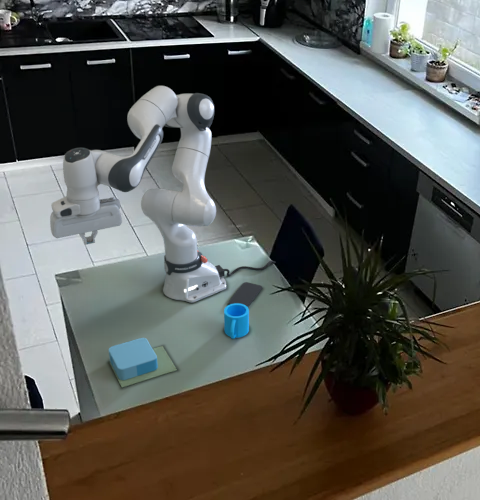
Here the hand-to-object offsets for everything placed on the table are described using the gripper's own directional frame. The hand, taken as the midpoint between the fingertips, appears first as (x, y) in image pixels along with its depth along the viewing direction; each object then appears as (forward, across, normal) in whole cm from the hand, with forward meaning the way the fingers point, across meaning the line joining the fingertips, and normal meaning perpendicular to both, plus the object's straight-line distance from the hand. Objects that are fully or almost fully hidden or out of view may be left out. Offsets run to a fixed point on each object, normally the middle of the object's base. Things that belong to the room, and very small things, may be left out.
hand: (89, 242), depth 212 cm
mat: (+33, -6, +24) cm, 41 cm away
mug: (+33, -38, +22) cm, 55 cm away
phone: (+33, -50, +4) cm, 60 cm away
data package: (+31, -4, +16) cm, 35 cm away
